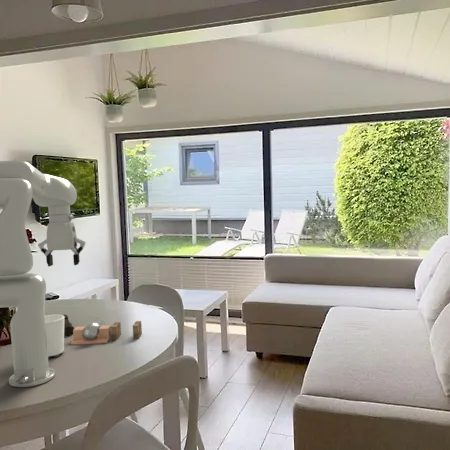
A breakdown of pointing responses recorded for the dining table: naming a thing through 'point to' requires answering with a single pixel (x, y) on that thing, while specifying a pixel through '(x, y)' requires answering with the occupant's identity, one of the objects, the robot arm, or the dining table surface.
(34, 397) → the dining table surface
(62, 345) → the cup
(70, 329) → the hand tool
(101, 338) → the cradle
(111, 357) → the dining table surface
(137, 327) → the channel block
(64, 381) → the dining table surface
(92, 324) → the axle
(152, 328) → the dining table surface
